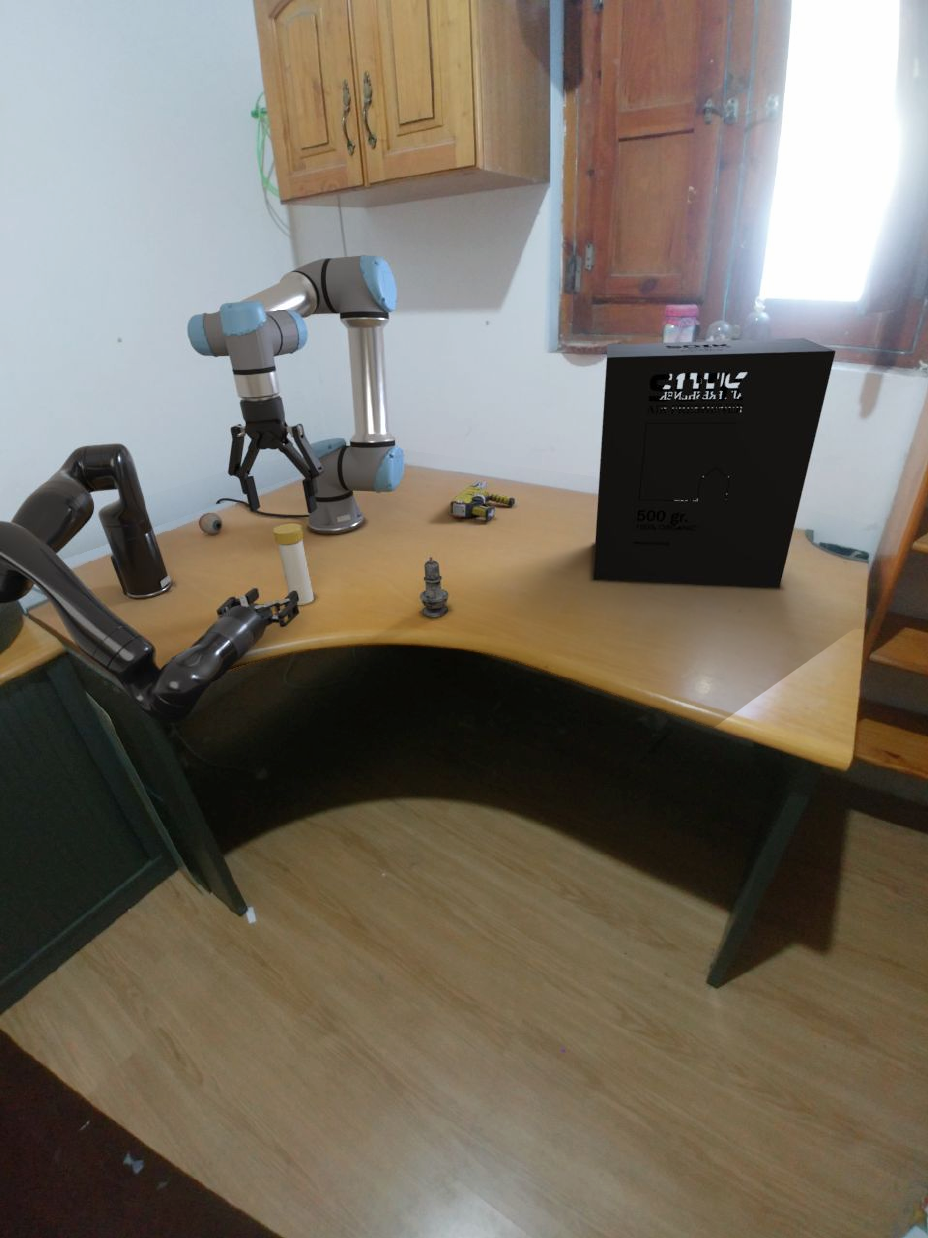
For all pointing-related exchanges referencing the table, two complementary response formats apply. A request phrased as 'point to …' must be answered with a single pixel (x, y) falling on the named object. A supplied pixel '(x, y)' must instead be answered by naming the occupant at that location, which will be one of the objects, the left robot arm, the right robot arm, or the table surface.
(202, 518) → the eyeball
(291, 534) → the lid
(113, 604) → the table surface
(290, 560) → the jar
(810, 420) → the cardboard box
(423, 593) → the dark grey tall piece
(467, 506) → the toy gun
